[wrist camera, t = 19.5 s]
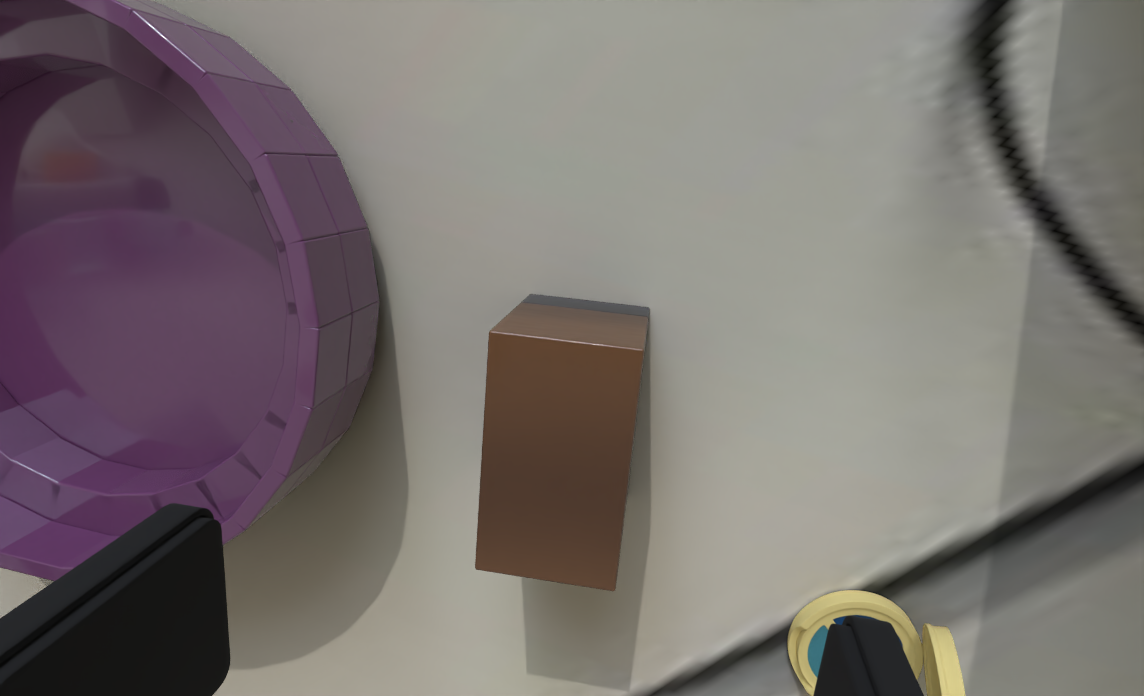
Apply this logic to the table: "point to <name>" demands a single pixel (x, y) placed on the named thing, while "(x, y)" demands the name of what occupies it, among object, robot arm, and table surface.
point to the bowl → (164, 280)
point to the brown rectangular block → (559, 439)
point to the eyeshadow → (835, 606)
